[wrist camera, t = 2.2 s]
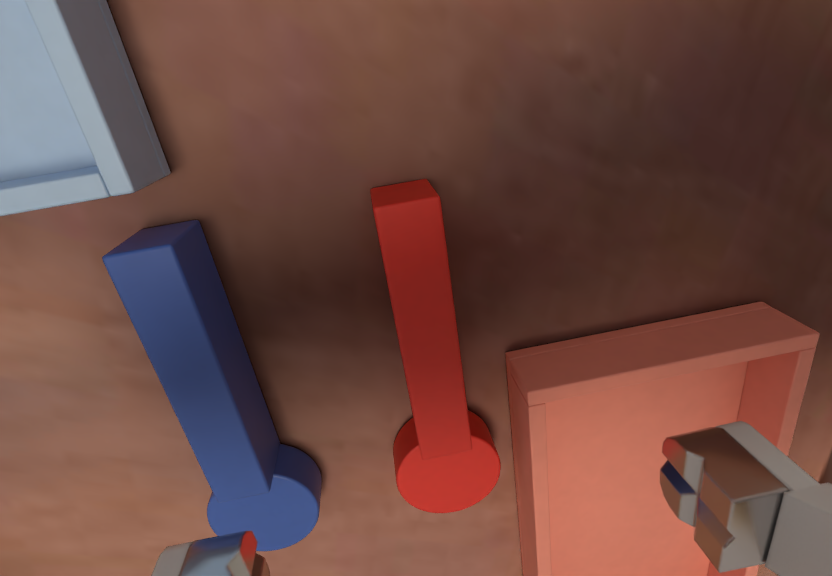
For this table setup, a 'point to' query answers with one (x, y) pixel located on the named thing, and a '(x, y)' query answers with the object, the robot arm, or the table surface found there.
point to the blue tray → (69, 108)
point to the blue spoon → (214, 386)
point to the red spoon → (430, 358)
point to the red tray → (640, 432)
